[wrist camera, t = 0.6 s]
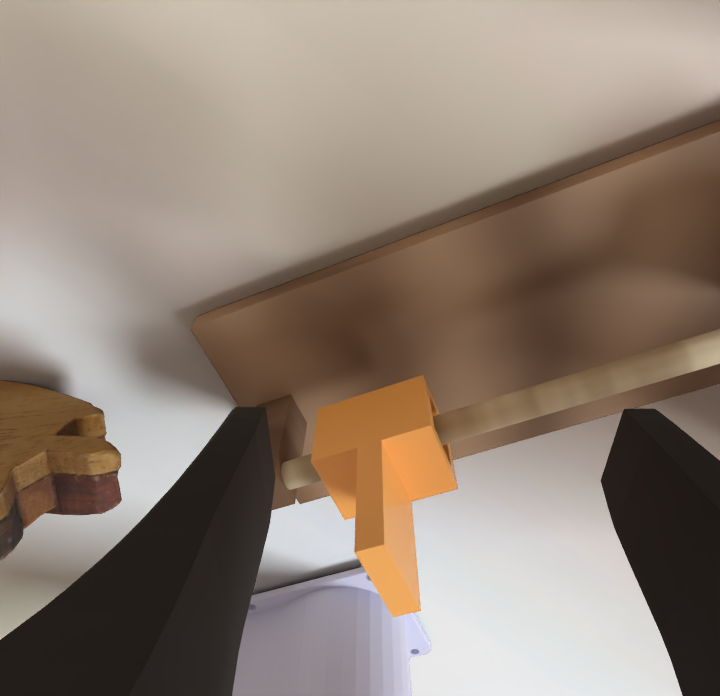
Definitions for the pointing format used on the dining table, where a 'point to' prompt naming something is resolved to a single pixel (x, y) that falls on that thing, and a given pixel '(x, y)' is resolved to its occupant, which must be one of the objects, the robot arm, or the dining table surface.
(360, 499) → the orange plastic bracket
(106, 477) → the wooden carving
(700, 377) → the cord rail
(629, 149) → the dining table surface
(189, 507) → the robot arm
